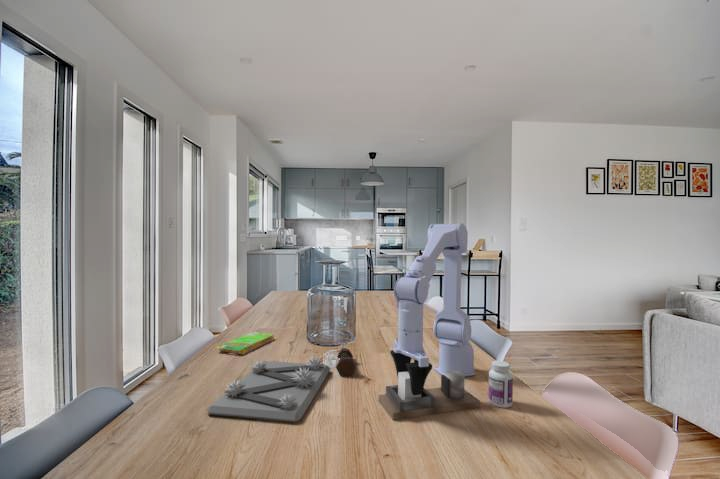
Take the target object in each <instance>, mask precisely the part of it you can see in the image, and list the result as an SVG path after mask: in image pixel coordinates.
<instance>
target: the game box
mask: <svg viewBox="0 0 720 479" xmlns="http://www.w3.org/2000/svg"><path fill="white" fill-rule="evenodd" d="M274 340H275V334H272V333H264V332H254V331H253V332H250V333H248V334H244V335H243V336H240V337H238V338H235V339H232V340H230V341H227V342H225V343H222V344H220V345H217V347H216V348H217V349H219V352H223V353H230V354H238V355H245V354H247V353H249V352H251V351H253V350H255V349H257V348H259V347H261V346H263V345H265V344H268V343H269V342H272V341H274Z"/></svg>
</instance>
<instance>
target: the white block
mask: <svg viewBox="0 0 720 479" xmlns="http://www.w3.org/2000/svg"><path fill="white" fill-rule="evenodd" d="M397 381H398V382H397V385H398V396H399V397H400V398H401V399H402V400H404V399H412V398H420V397H422V394H420V395H413V394H412V391H411V382H410V376H409V372H408V371H407V372H398V376H397Z"/></svg>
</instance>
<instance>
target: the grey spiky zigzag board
mask: <svg viewBox="0 0 720 479" xmlns="http://www.w3.org/2000/svg"><path fill="white" fill-rule="evenodd" d="M310 357H311V358H309V357H307V358H308V360H306V359H305V360H304V361H306V363H302V362H301V363H300V362H290V361H289V362H287V361H275V360H273V361H272V360H263V359H262V360H256V362H255V361H253V364H252V366H250V368H251V369H250V370H251V371H250V372H249V373H247V374H246V375H245V376H244V377H243V378H241V379H237V381H236V379H234V380H233V379H231V382H228V384H225V386H226V387H227V388H226V389H223V390H224V391H223V395H222V396H220V397H219V398H218V399H217V400H216V401H215V402H214V403H212V404H211V405H209V406H208V408H207V409H206V412H207V413H208V414H209V415H210V416H219V417H220V416H221V417H229V418H230V417H231V418H240V419H253V420H263V421H275V422H276V421H277V422H285V423H298V422H299V421H301V419H302V418H303V416H304V414H305V413H306V411H307V410H308V408H309V406H310V404H311V402H312V401H313V400H314V398H315V396H316V394H317V392H318V391H319V390H320V387H321V385H323V382H324V381H325V380H326V378H327V376H328V374H329V373H330V371H331V367H330V366H329V365H327V364H325V363H323V358H322V357H321V358H320V359H319V357H320V355H317V356H316V355H314V357H313V356H312V355H311V356H310Z"/></svg>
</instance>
